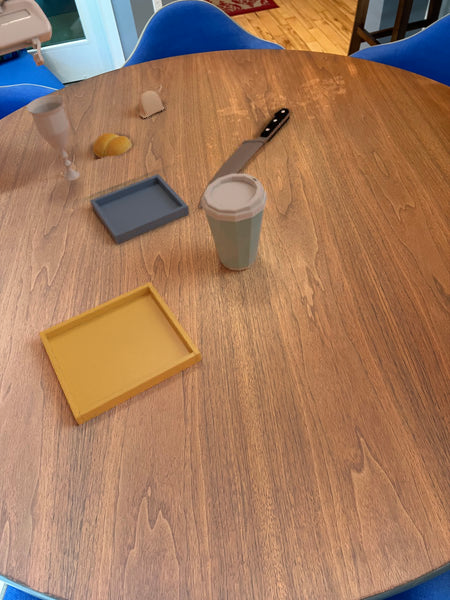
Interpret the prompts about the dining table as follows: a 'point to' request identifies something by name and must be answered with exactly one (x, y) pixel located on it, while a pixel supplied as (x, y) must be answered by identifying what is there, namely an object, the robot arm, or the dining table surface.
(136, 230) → the slate tray
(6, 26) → the robot arm
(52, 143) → the chalice
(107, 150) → the bread roll
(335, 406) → the dining table surface
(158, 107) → the decorative ornament
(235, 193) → the disposable coffee cup
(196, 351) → the mustard tray
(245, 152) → the kitchen knife
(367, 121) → the dining table surface
